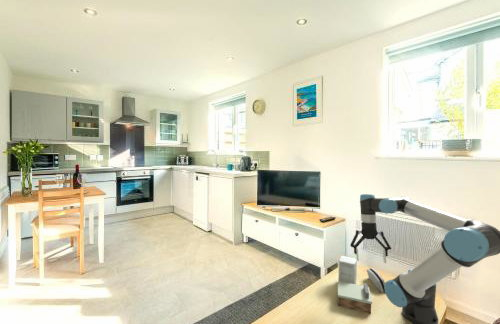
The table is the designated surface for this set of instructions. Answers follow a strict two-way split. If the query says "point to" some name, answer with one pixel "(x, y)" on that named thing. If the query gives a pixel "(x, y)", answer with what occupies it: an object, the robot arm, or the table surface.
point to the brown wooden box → (354, 305)
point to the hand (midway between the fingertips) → (371, 261)
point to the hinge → (376, 279)
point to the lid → (354, 292)
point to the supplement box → (347, 270)
